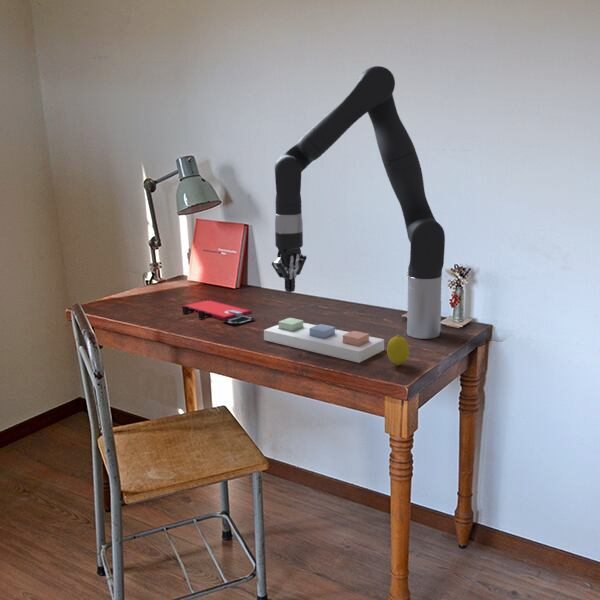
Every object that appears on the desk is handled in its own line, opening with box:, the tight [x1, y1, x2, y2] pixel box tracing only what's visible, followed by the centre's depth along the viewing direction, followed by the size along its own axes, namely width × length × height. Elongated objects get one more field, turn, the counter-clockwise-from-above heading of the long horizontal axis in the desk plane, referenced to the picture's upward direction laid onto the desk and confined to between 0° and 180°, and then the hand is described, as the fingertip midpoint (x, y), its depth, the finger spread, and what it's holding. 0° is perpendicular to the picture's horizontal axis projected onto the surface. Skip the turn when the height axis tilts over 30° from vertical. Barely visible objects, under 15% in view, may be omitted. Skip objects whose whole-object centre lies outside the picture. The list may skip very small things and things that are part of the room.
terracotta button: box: [343, 330, 370, 347], centre depth 188 cm, size 5×5×2 cm
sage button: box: [277, 317, 304, 332], centre depth 201 cm, size 5×5×2 cm
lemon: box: [386, 334, 410, 367], centre depth 178 cm, size 6×6×8 cm
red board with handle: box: [180, 299, 255, 325], centre depth 227 cm, size 30×3×15 cm
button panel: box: [263, 322, 385, 364], centre depth 195 cm, size 12×32×3 cm, turn 52°
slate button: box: [309, 323, 336, 339], centre depth 194 cm, size 5×5×2 cm
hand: (290, 291), depth 198 cm, fingers closed
